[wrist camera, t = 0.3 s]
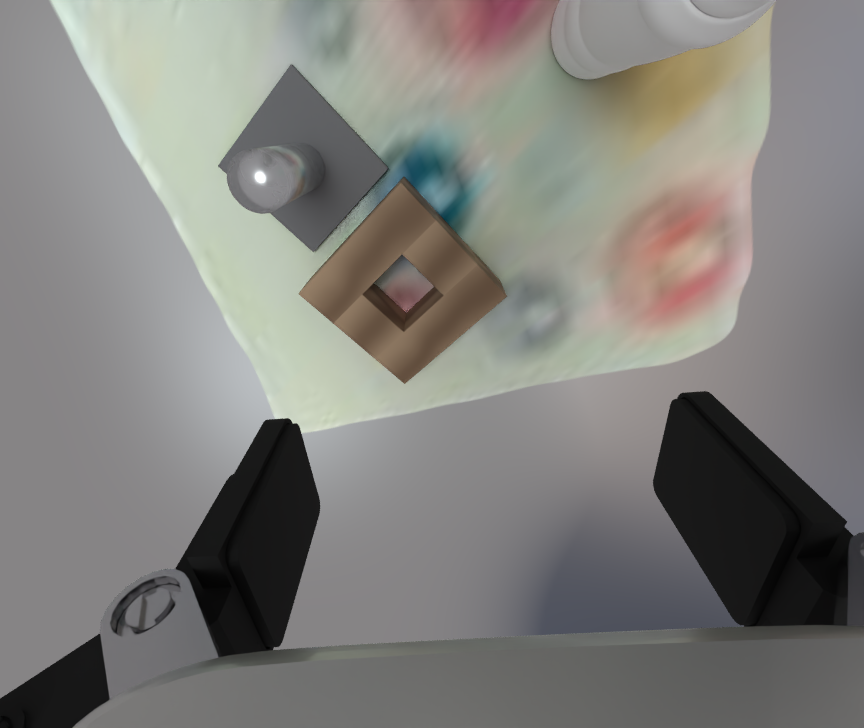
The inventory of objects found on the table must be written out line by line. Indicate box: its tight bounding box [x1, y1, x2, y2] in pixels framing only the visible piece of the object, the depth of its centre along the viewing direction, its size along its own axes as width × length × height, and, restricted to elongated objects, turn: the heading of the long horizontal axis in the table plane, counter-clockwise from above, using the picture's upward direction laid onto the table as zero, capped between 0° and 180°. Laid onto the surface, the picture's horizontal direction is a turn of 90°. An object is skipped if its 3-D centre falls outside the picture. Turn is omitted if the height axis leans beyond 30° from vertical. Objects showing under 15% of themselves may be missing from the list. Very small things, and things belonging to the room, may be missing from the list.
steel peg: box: [227, 143, 325, 214], centre depth 34 cm, size 4×4×12 cm
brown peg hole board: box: [299, 177, 507, 384], centre depth 43 cm, size 14×14×5 cm
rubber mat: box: [218, 65, 388, 252], centre depth 40 cm, size 11×11×1 cm
